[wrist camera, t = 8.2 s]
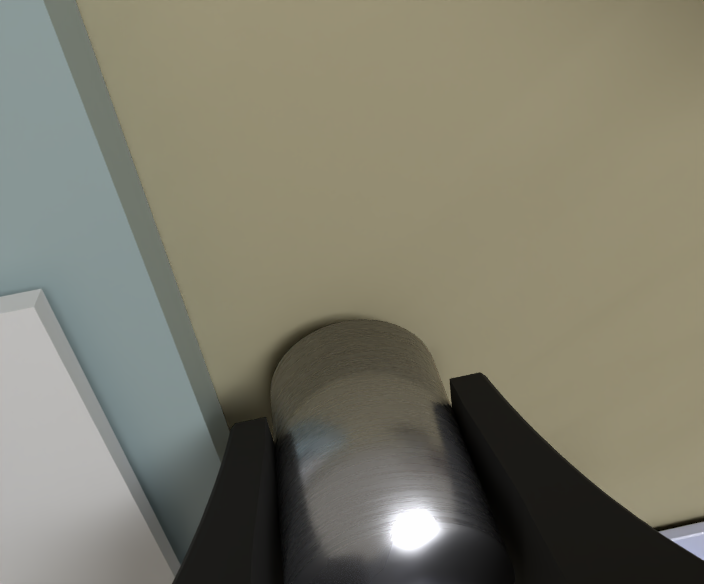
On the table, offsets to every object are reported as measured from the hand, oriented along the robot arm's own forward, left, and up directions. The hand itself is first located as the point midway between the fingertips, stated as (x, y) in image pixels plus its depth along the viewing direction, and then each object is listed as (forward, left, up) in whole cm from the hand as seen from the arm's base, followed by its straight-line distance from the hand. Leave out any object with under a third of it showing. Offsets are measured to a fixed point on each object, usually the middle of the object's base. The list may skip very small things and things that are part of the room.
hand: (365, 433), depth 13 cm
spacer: (0, 0, -2) cm, 2 cm away
